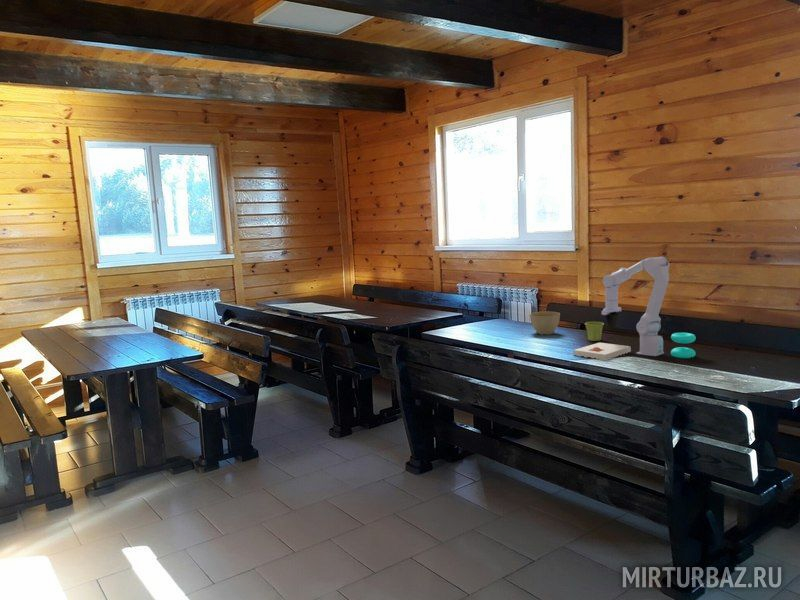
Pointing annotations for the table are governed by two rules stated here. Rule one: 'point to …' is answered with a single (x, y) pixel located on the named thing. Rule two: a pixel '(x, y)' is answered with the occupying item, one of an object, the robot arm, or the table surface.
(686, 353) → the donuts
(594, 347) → the ball
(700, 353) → the table surface
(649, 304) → the robot arm
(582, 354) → the deck
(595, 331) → the plant pot
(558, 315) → the planter bowl
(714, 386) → the table surface
